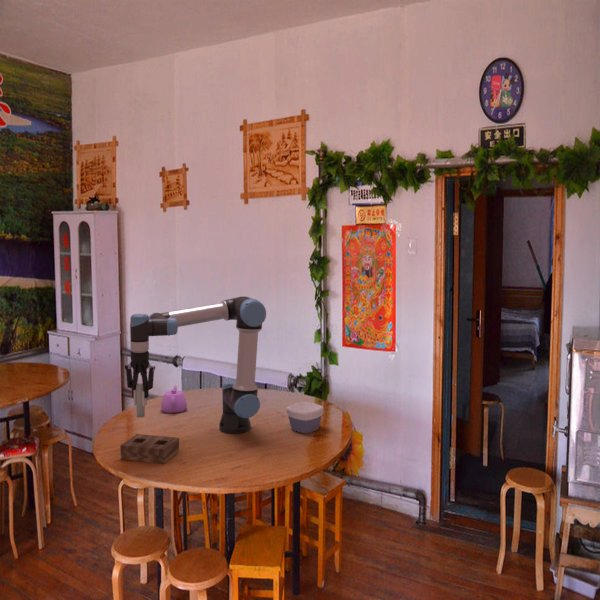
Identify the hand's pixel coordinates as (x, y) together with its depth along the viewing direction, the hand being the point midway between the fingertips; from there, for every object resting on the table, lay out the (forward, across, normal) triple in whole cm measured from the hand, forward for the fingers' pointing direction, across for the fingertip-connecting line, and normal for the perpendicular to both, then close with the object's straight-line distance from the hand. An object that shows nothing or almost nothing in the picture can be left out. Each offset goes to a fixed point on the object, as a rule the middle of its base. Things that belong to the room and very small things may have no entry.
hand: (140, 404), depth 253 cm
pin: (+5, 0, 0) cm, 5 cm away
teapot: (+21, +13, -59) cm, 64 cm away
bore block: (+21, -5, +1) cm, 22 cm away
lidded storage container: (+20, -62, -47) cm, 80 cm away
